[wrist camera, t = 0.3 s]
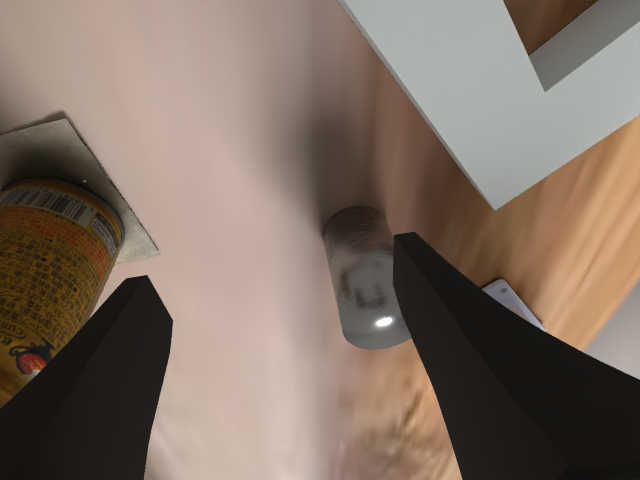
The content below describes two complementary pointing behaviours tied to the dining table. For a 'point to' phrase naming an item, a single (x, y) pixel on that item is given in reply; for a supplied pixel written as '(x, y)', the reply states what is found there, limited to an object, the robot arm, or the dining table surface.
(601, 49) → the socket
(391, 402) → the dining table surface
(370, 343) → the peg
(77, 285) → the condiment
